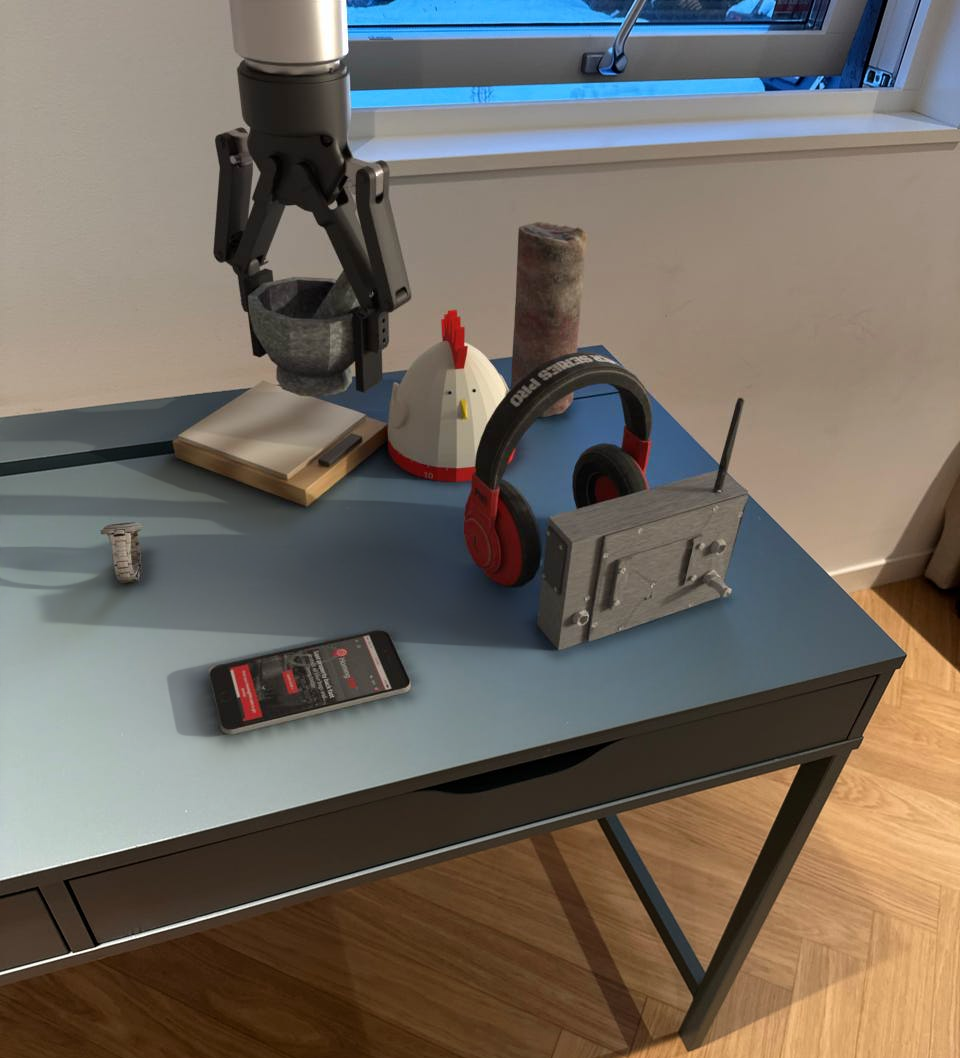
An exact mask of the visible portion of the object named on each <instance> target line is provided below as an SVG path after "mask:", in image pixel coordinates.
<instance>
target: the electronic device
mask: <svg viewBox="0 0 960 1058" xmlns="http://www.w3.org/2000/svg"><path fill="white" fill-rule="evenodd" d="M744 404H745V399H744V398H743V397H738V398H737V401H736V403H735V406H734V410H733V414H732V417H731V421H730V424H729V428H728V432H727V434H726V435H727V436H726V439H725V442H724V443H725V444H724V446H723V451H722V454H721V457H720V461H719V465H718V469H715V470H712V471H708V472H705V473H701V474H698V475H695V476H691V477H687V478H683V479H680V480H676V481H673V482H669V483H666V484H662V485H659V486H655V487H650V488H649V489H647V490H644V491H640V492H636V493H633V494H629V495H626V496H622V497H618V498H615V499H611V500H608V501H604V502H600V503H597V504H593V505H590V506H586V507H583V508H579V509H577V508H576V509H572V510H569V511H565V512H562V513H558V514H554V515H550V516H548V520H547V528H546V535H545V544H544V545H545V547H544V554H543V563H542V571H541V573H542V574H541V584H540V594H539V601H538V602H539V603H538V612H537V621H536V624H537V626H538V627H539V629H540V630H541V631H542V633H543V634H544V635H545V636H546V637H547V639H548V640H549V641H550V643H552V645H553V646H554V647H555V648H556V649H557V651H561V650H564V649H568V648H571V647H573V646H576V645H578V644H582V643H584V642H588V643H590V642H592V641H595V640H598V639H602V638H604V637H607V636H610V635H613V634H616V633H619V632H622V631H625V630H628V629H630V628H634V627H636V626H639V625H642V624H643V625H644V624H645V623H649V622H651V621H655V620H657V619H661V618H663V617H666V616H669V615H672V614H675V613H678V612H681V611H683V610H686V609H690V608H692V607H695V606H698V605H702V604H705V603H707V602H710V601H713V600H717V599H720V598H727V597H729V596H730V595H731V593H732V591H733V590H732V588H731V587H729V586H728V585H727V584H726V583H725V580H726V576H727V573H728V570H729V567H730V562H731V558H732V555H733V551H734V548H735V544H736V541H737V539H738V534H739V530H740V528H741V524H742V520H743V516H744V513H745V508H746V506H747V503H748V499H749V495H748V493H749V490H748V489H746V488H745V487H744V486H742V484H740V483H739V482H738V481H736V480H735V479H734V478H733V477H732V476H730V475H729V474H728V470H729V467H730V462H731V458H732V454H733V450H734V445H735V443H736V437H737V433H738V429H739V425H740V421H741V416H742V412H743V408H744Z"/></svg>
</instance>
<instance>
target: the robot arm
mask: <svg viewBox="0 0 960 1058" xmlns="http://www.w3.org/2000/svg"><path fill="white" fill-rule="evenodd" d="M228 4H229V14H230V25H231V33H232V43H233V44H232V45H233V51H234V53H236V54H237V56H239V57H240V58H242V60H241V61H240V63H239V64H238V66H237V67H236V75H237V84H238V92H239V100H240V108H241V110H240V111H241V117H242V119H243V121H244V123H245V125H247V126H248V127H249V132H248V131H247V129H245V128H244V127H237V128H233V129H231V130H227V131H225V132H222V133H220V134H217V135H216V136H215V138H214V144H215V150H216V155H217V161H218V165H219V170H218V171H219V173H218V186H217V188H218V189H217V197H216V198H217V199H216V211H215V225H214V238H213V239H214V240H213V251H212V254H213V257H214V259H215V260H216V261H217V262H218V263H219V264H220V263H221V264H223V263H226V264H228V265H229V266H231V268H232V271H233V272H234V273H235V275H236V276H237V281H238V289H239V295H240V296H239V297H240V305H241V307H242V310H243V312H245V313H247V318H248V326H249V333H250V342H251V343H250V344H251V349H252V350H251V351H252V356H254V357H257V358H262V357H264V356H266V355H268V354H267V353H266V351H265V349H264V348H263V346H262V344H261V343H260V341H259V339H258V338H257V336H256V334H255V333H254V330H253V326H252V322H251V318H250V314H249V304H248V296H249V295H250V294H251V293H252V292H253V291H255V290H256V289H257V288H258V287H259V286H260V285H262V284H263V283H267V282H272V281H274V271H273V269H269V268H266V267H265V268H263V269H261V267H262V266H264V265H266V264H268V263H269V262H270V260H267V256H268V253H269V250H270V248H271V245H272V243H273V240H274V237H275V234H276V232H277V229H278V227H279V225H280V221H281V219H282V216H283V214H284V211H285V209H286V206H287V207H290V206H296V207H298V208H299V209H301V210H303V211H306V212H309V213H312V215H313V218H314V220H315V222H316V223H317V225H318V226H319V227H321V228H323V229H324V231H325V232H326V234H327V237H328V239H329V241H330V244H331V245H332V247H333V250H334V252H335V254H336V256H337V259H338V261H339V263H340V265H341V268H342V270H344V272H345V274H346V276H347V278H348V280H349V283H350V285H351V287H352V289H353V291H354V293H355V296H356V298H357V300H358V302H359V304H360V306H361V307H360V308H359V309H357V310H355V311H354V312H352V315H353V335H354V356H355V362H354V373H355V388H356V389H355V390H356V391H357V392H360V393H366V392H367V391H369V390H370V389H371V388H372V387H374V386H375V385H377V384H378V383H380V382H381V381H382V380H383V379H384V377H383V350H385V349H386V348H387V347H388V346H389V344H390V343H389V342H390V322H389V321H390V319H389V317H390V316H389V315H390V313H392V312H394V311H396V310H397V309H399V308H401V307H402V306H404V305H406V304H407V303H409V302H410V301H411V300H412V291H411V287H410V283H409V282H410V281H409V278H408V273H407V269H406V265H405V260H404V257H403V251H402V248H401V243H400V239H399V235H398V230H397V227H396V222H395V218H394V213H393V209H392V204H391V200H390V174H391V172H390V171H391V170H390V167H389V165H388V163H387V162H386V161H384V160H381V159H380V160H377V161H375V162H371V163H370V162H368V161H365V160H361V159H358V158H355V156H354V153H353V150H352V148H351V146H350V142H349V138H348V135H349V131H350V130H349V129H350V125H351V121H352V100H351V75H350V69H349V68H348V67H347V65H346V63H345V62H343V61H342V59H344V58H345V57H346V55H347V54H348V53H349V41H348V40H349V39H348V38H349V37H348V20H347V18H348V17H347V0H228ZM254 164H255V166H256V168H257V170H258V172H259V177H258V180H257V182H256V185H255V188H254V191H253V194H252V187H253V186H252V184H253V175H254ZM348 180H350V183H351V185H350V187H349V185H348V183H347V182H348ZM251 195H252V197H251ZM353 195H355V199H354V197H353ZM251 200H252V201H253V204H252V207H251V210H250V205H251ZM335 202H336V207H334V208H333V209H332V208H330V206H332V205H333V204H334V203H335ZM356 211H357V214H356Z"/></svg>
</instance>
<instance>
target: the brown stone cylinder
mask: <svg viewBox="0 0 960 1058" xmlns="http://www.w3.org/2000/svg"><path fill="white" fill-rule="evenodd" d="M517 234H518V235H517V257H516V258H517V259H516V281H515V303H514V319H513V320H514V321H513V322H514V323H513V324H514V325H513V335H512V336H513V337H512V338H513V339H512V353H511V354H512V355H511V377H510V379H511V381H510V390H511V389H512V388H513V387H514V386H515V385H516V384H517V383H518V382H519V381H520V380H521V379H522V378H524V377H525V376H526V375H527V374H529V373H530V372H531V371H533V370H534V369H535V368H537V367H538V366H540V365H542V364H544V363H546V362H548V361H549V360H551V359H554V358H557V357H560V356H563V355H566V354H571V353H576V352H578V342H579V341H578V340H579V329H580V320H581V319H580V318H581V305H582V295H583V283H584V273H585V263H586V262H585V261H586V251H587V250H586V249H587V239H588V234H587V231H586V229H584V228H583V227H581V226H576V227H573V226H572V227H571V226H568V225H562V226H561V225H558V224H553V223H550V222H547V221H546V222H545V221H537V222H532V223H527V224H524V225H521V226H519V227H518V233H517ZM574 392H575V391H574ZM574 392H572V393H570V394H568V395H566V396H565V397H563V398H561V399H560V400H559V401H557V402H556V403H555V404H553V405H552V406H550V407H549V408H548V409H547V410H546V411H545V412H544V413H542V414H541V415H540V416H539V417H538V418H547V417H551V416H553V415H559V414H563V413H564V412H565V411H566V410H567V409H568V407H569V406H570V405H571V404H572V402H573V401H574Z"/></svg>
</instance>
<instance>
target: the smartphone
mask: <svg viewBox="0 0 960 1058" xmlns="http://www.w3.org/2000/svg"><path fill="white" fill-rule="evenodd" d="M208 677H209V682H210V686H211V691H212V694H213V699H214V704H215V707H216V712H217V716H218V720H219V725H220V728H221V729H220V730H221V732H223V733H224V734H226V735H236V734H239V733H245V732H248V731H249V732H250V731H252V730H256V729H261V728H264V727H269V726H273V725H277V724H281V723H285V722H290V721H294V720H298V719H301V718H306V717H311V716H314V715H318V714H322V713H323V714H324V713H326V712H331V711H335V710H339V709H343V708H347V707H351V706H355V705H359V704H364V703H368V702H373V701H376V700H380V699H384V698H385V699H386V698H389V697H393V696H397V695H401V694H404V693H407V692H409V691H410V689H411V687H412V686H411V679H410V676H409V675H408V672H407V670H406V667H405V666H404V664H403V660H402V659H401V657H400V655H399V651H398V650H397V648H396V645H395V643H394V641H393V639H392V637H391V634H390V633H389V631H388V630H386V629H374V630H370V631H366V632H361V633H357V634H353V635H348V636H343V637H338V638H333V639H330V640H325V641H320V642H316V643H312V644H306V645H303V646H298V647H293V648H289V649H284V650H280V651H275V652H271V653H270V652H269V653H266V654H262V655H256V656H253V657H249V658H248V657H247V658H243V659H239V660H234V661H229V662H226V663H225V662H224V663H220V664H216V665H213V666H212V667H211V668H210V669H209V671H208Z"/></svg>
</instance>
